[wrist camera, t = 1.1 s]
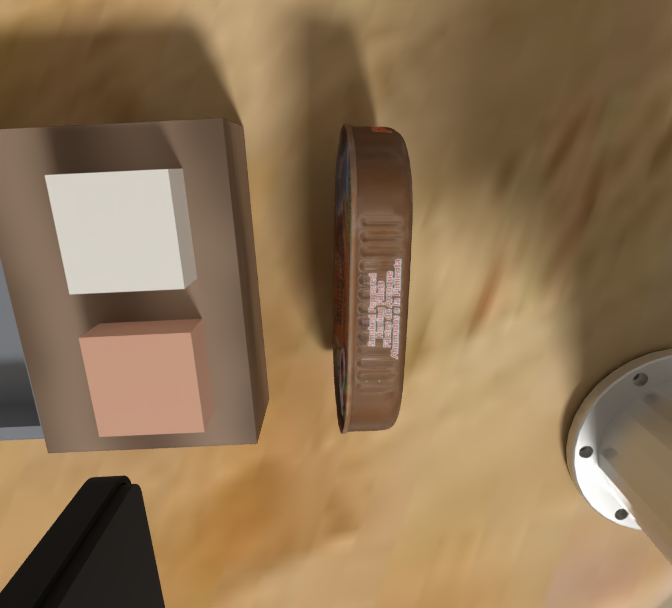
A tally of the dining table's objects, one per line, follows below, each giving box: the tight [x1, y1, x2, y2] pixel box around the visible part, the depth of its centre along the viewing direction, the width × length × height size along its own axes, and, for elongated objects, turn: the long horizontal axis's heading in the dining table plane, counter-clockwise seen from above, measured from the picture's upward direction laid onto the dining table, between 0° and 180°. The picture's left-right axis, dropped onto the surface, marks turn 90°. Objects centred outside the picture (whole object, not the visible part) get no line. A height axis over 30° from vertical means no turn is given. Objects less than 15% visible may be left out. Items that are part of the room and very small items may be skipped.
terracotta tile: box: [79, 319, 214, 437], centre depth 23 cm, size 5×5×2 cm
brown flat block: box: [0, 118, 269, 453], centre depth 26 cm, size 11×16×5 cm
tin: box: [333, 124, 413, 434], centre depth 24 cm, size 15×3×8 cm, turn 179°
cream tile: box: [45, 169, 197, 294], centre depth 21 cm, size 5×5×2 cm
